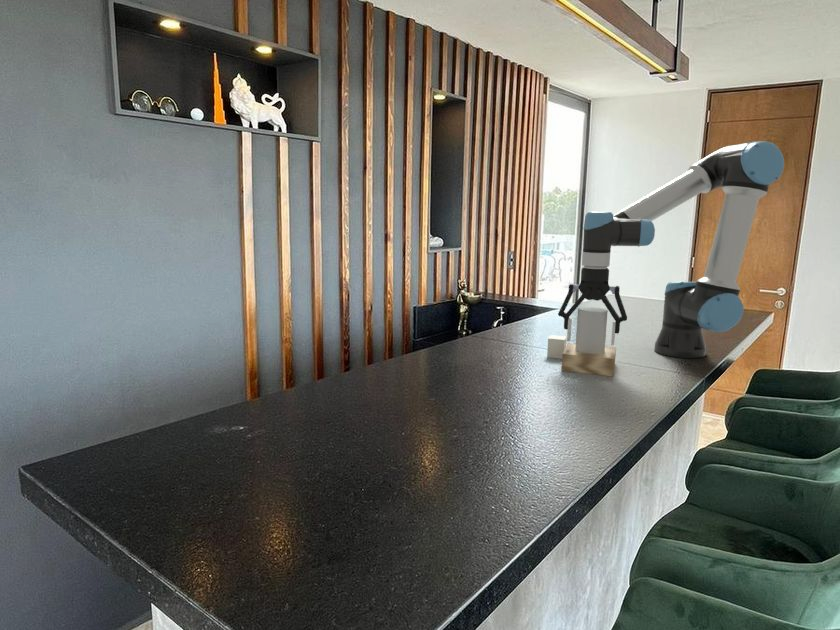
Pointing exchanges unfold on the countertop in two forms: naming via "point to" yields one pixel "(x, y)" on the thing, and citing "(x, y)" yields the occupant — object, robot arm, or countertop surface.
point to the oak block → (588, 361)
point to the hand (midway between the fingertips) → (590, 342)
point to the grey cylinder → (591, 330)
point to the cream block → (556, 346)
